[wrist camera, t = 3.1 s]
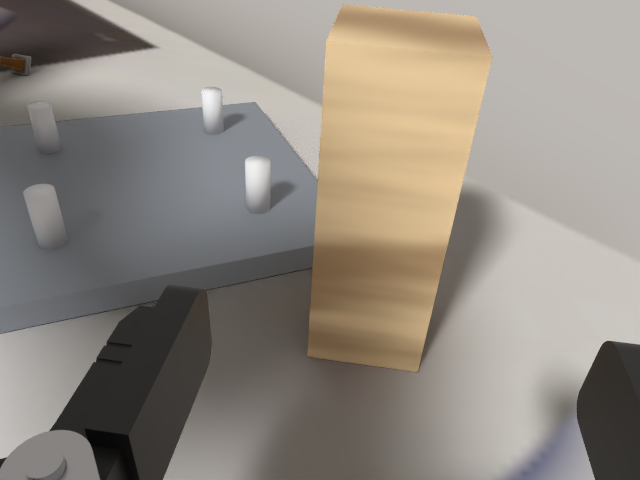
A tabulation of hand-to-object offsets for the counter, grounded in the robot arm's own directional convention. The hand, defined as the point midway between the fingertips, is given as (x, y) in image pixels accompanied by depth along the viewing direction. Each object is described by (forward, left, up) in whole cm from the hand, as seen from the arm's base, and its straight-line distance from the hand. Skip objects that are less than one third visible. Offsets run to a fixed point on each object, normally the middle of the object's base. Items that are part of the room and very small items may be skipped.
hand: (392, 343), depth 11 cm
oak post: (+5, +10, -11) cm, 16 cm away
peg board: (-2, +25, -10) cm, 27 cm away
